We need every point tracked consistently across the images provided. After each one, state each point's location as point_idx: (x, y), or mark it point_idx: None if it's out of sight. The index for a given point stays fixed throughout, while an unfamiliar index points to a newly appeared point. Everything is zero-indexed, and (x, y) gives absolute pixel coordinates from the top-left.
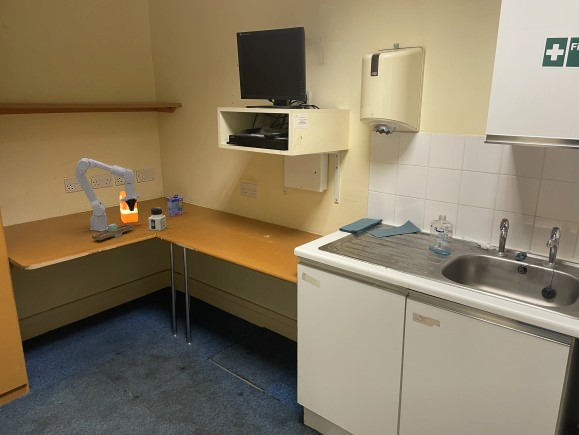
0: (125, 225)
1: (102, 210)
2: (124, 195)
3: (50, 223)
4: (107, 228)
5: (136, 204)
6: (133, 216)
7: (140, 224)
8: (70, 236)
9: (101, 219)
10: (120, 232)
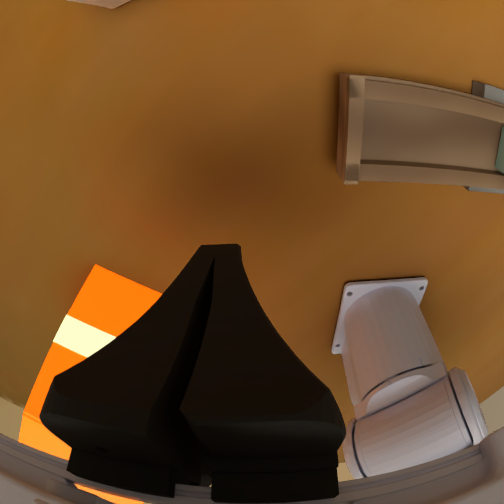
0: (370, 162)
1: (475, 399)
2: (112, 501)
3: (342, 445)
4: (372, 288)
5: (41, 373)
6: (109, 305)
7: (136, 177)
8: (494, 322)
9: (434, 347)
10: (489, 99)
